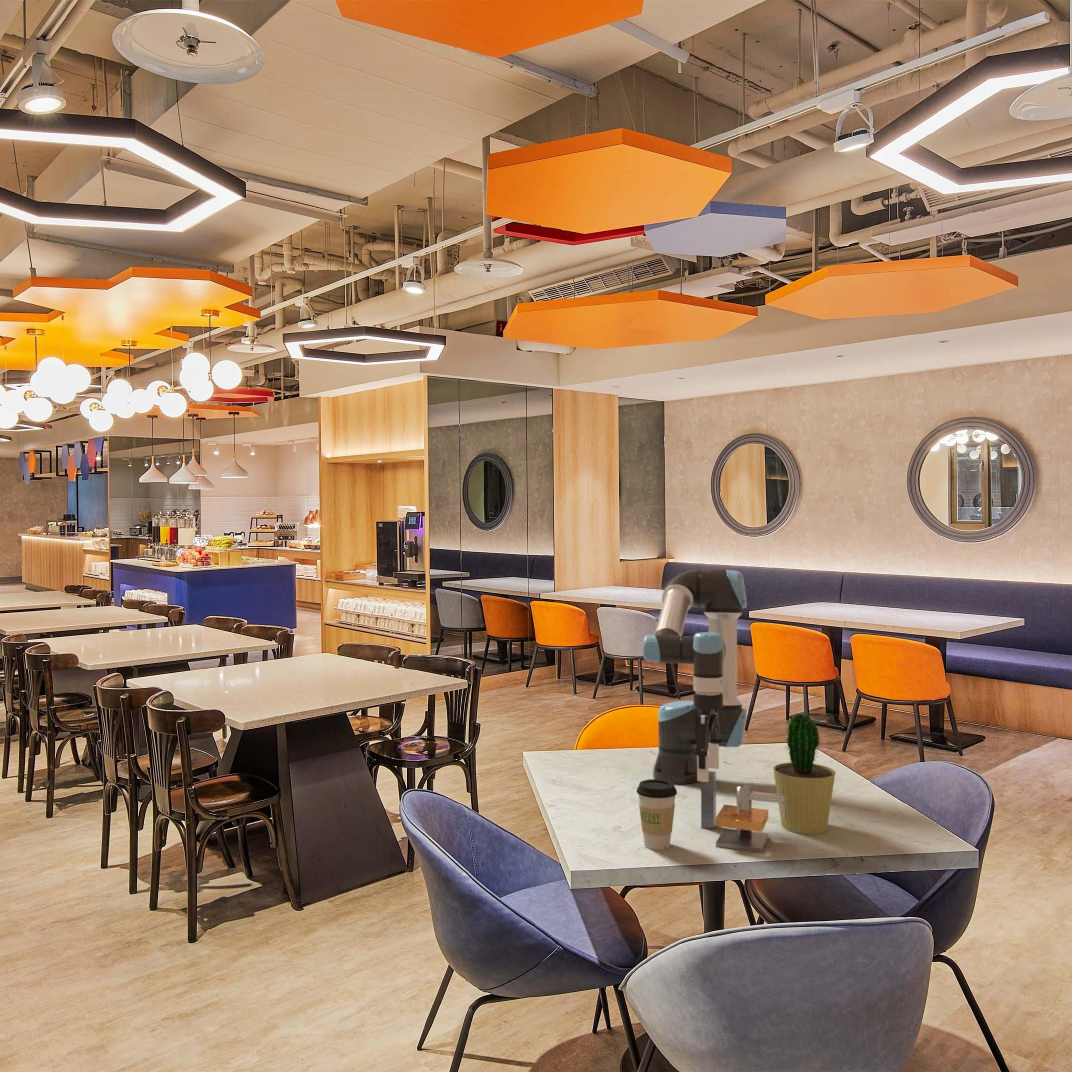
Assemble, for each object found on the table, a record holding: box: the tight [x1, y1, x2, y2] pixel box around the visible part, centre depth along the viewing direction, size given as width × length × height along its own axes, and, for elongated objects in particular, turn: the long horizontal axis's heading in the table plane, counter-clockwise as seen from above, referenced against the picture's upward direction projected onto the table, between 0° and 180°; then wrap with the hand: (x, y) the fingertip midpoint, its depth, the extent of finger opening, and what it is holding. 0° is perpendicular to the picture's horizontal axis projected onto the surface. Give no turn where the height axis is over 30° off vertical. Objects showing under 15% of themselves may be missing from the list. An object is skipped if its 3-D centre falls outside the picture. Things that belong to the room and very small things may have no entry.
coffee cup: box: [636, 778, 678, 851], centre depth 211 cm, size 10×10×15 cm
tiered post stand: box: [715, 784, 786, 854], centre depth 212 cm, size 16×11×13 cm
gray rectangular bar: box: [700, 770, 717, 830], centre depth 224 cm, size 3×3×14 cm
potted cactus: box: [773, 712, 836, 835], centre depth 224 cm, size 15×15×30 cm
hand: (708, 774), depth 224 cm, fingers open, 13 cm apart
